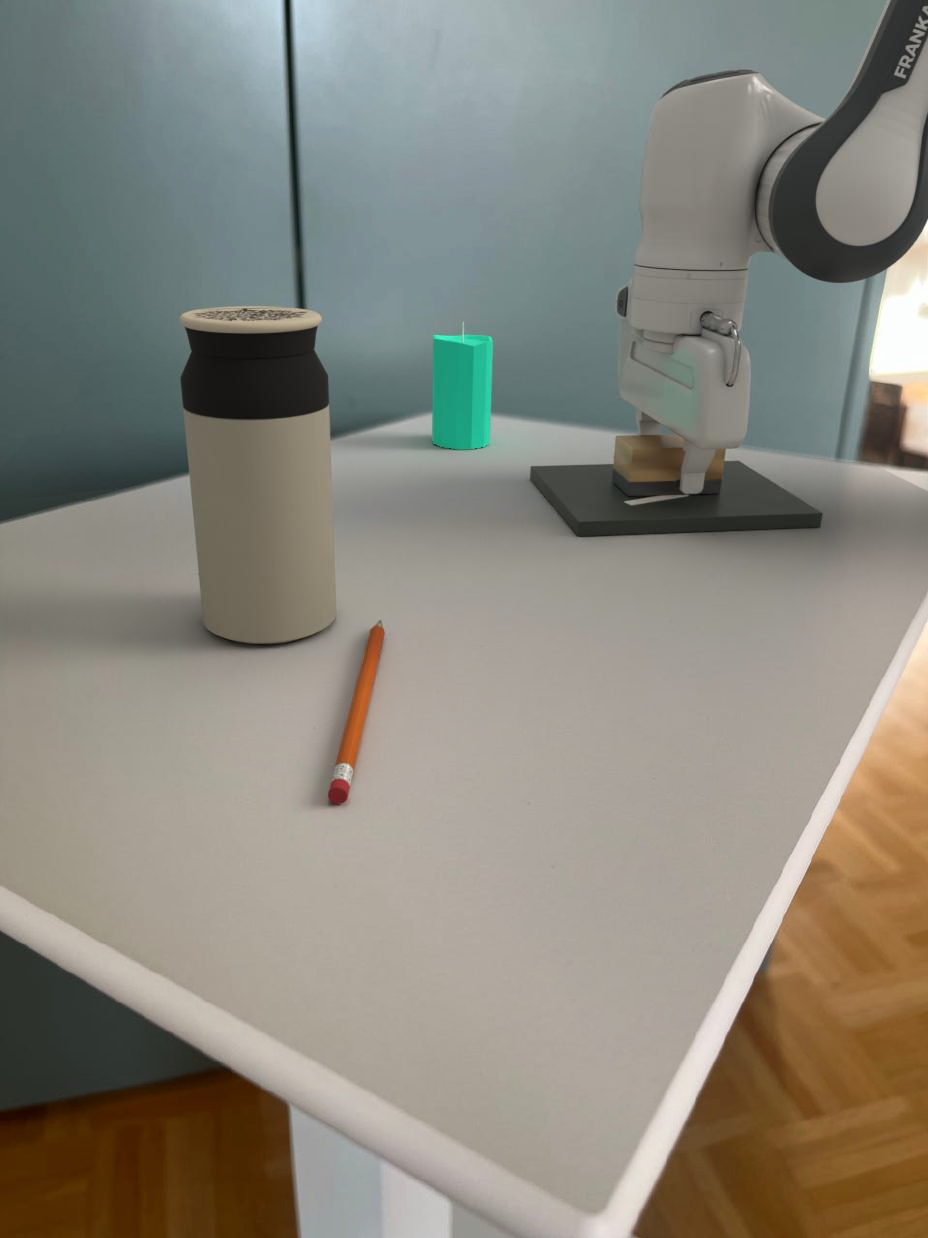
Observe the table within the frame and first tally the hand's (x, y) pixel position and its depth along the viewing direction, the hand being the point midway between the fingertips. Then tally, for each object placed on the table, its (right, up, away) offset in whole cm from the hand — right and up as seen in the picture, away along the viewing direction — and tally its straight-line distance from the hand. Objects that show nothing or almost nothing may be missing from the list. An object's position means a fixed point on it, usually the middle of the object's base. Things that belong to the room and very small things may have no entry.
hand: (668, 475), depth 84 cm
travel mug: (-29, -12, -23) cm, 39 cm away
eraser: (0, -1, 0) cm, 1 cm away
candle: (-18, +6, +19) cm, 26 cm away
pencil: (-22, -16, -32) cm, 43 cm away
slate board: (0, -2, +1) cm, 2 cm away
